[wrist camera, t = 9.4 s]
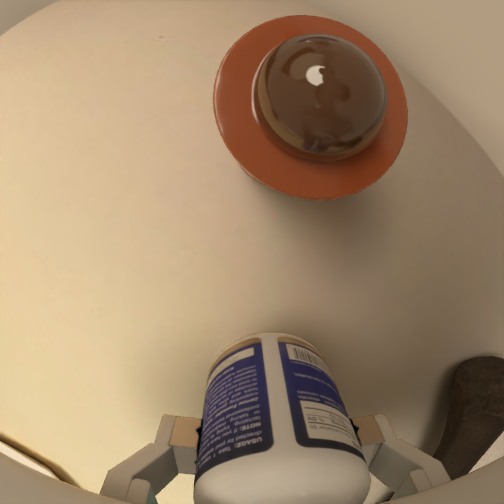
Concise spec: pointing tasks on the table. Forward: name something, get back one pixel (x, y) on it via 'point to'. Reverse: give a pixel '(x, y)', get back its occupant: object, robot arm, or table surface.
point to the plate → (25, 460)
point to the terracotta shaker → (310, 107)
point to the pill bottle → (276, 429)
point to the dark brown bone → (473, 415)
